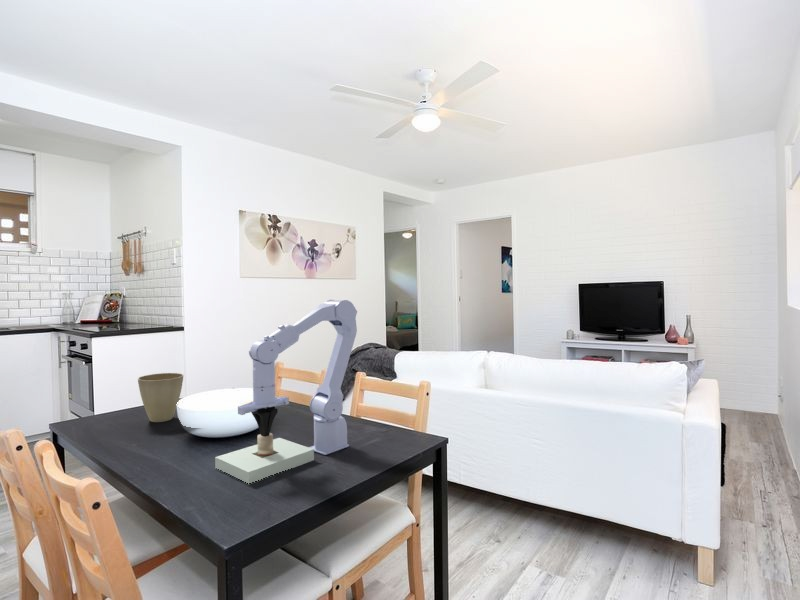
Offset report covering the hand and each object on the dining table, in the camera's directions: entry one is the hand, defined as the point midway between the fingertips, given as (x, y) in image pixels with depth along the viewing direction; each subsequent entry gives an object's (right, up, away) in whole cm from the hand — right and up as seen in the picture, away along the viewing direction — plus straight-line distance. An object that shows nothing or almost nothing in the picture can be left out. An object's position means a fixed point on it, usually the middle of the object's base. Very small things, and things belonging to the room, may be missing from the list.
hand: (264, 435), depth 122 cm
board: (0, -8, 0) cm, 8 cm away
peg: (0, -8, 0) cm, 8 cm away
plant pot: (-51, -8, +45) cm, 68 cm away
